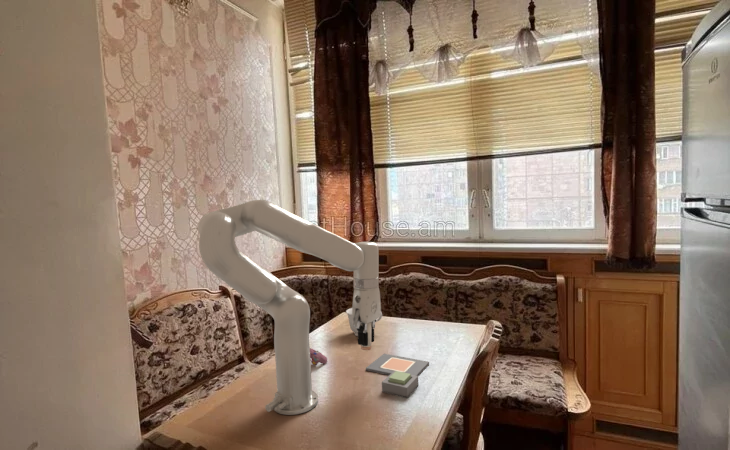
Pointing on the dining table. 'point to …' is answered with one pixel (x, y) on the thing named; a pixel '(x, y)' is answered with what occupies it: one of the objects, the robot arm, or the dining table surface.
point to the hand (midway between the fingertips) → (366, 342)
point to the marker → (368, 337)
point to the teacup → (353, 321)
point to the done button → (400, 377)
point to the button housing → (400, 387)
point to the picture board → (397, 365)
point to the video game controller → (317, 357)
